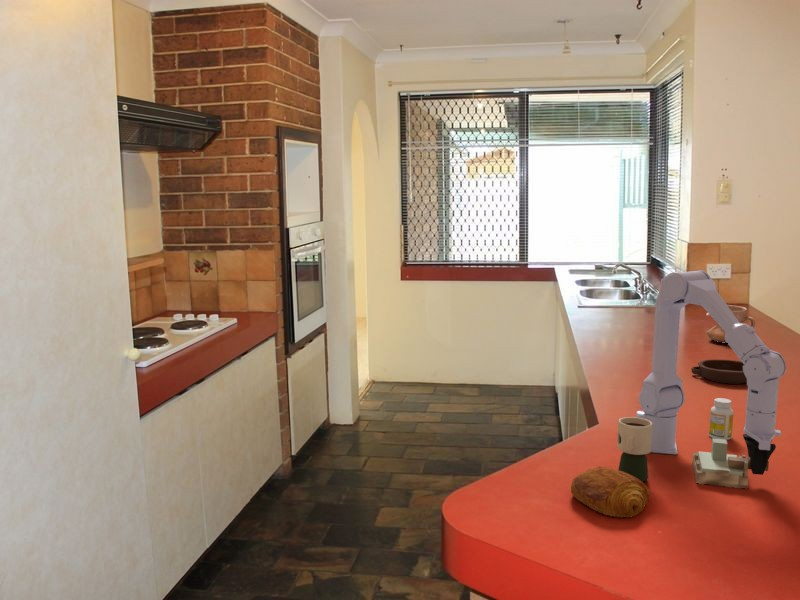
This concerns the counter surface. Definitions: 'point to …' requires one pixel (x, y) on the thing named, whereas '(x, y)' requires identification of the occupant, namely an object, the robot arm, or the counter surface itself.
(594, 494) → the croissant
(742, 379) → the dish
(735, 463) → the brown rectangular bar
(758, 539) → the counter surface
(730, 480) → the box
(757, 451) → the robot arm
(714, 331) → the ceramic jug
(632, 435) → the character mug
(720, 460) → the lid
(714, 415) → the supplement bottle
